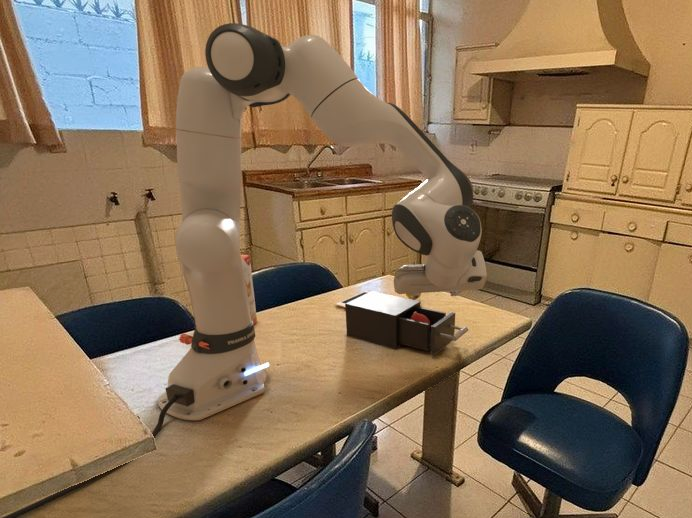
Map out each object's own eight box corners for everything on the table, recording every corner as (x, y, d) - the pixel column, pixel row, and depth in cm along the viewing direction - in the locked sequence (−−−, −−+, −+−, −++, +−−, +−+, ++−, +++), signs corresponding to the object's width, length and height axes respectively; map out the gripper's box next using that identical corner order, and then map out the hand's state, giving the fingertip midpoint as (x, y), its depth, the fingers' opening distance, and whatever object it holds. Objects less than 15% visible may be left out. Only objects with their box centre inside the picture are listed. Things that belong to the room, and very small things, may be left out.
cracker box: (241, 341, 123) (230, 267, 116) (219, 341, 123) (206, 267, 116) (259, 321, 136) (250, 253, 129) (239, 321, 136) (229, 253, 129)
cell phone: (335, 305, 150) (335, 303, 149) (366, 292, 162) (366, 290, 162) (353, 310, 146) (353, 308, 145) (383, 296, 158) (383, 294, 158)
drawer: (470, 343, 122) (472, 316, 119) (451, 360, 113) (452, 331, 110) (406, 327, 132) (406, 302, 129) (383, 341, 123) (383, 314, 120)
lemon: (424, 301, 155) (425, 278, 152) (413, 305, 151) (413, 282, 148) (413, 297, 159) (413, 275, 156) (401, 300, 155) (401, 278, 152)
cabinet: (420, 332, 131) (420, 301, 127) (396, 349, 120) (395, 315, 117) (372, 320, 138) (372, 291, 135) (346, 335, 128) (345, 303, 125)
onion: (409, 343, 121) (400, 318, 118) (418, 331, 126) (409, 306, 122) (428, 343, 119) (419, 317, 115) (437, 330, 123) (428, 305, 119)
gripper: (398, 281, 92) (391, 309, 104) (494, 276, 95) (477, 304, 108) (394, 254, 94) (388, 284, 107) (488, 250, 98) (472, 280, 110)
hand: (433, 294), depth 107 cm, fingers open, 8 cm apart
